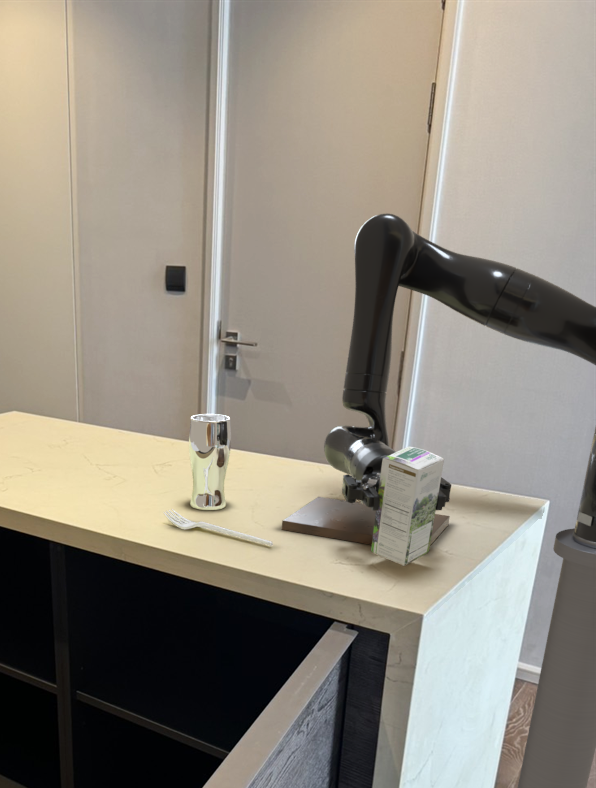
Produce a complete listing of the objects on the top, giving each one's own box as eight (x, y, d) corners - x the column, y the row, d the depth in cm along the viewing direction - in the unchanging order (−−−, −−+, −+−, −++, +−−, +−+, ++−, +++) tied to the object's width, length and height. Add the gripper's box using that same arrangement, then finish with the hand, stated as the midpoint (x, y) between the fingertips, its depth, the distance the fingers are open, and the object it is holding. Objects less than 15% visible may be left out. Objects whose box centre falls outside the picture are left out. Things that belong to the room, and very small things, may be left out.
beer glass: (206, 497, 152) (208, 412, 146) (236, 505, 148) (240, 417, 142) (179, 505, 148) (180, 417, 142) (209, 513, 143) (212, 423, 137)
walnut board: (448, 524, 138) (449, 515, 137) (423, 553, 125) (424, 543, 125) (317, 504, 148) (318, 496, 148) (281, 529, 135) (282, 520, 135)
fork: (265, 550, 126) (266, 538, 126) (161, 523, 138) (161, 512, 138) (277, 545, 129) (278, 533, 128) (173, 519, 141) (173, 507, 140)
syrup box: (395, 539, 123) (406, 443, 115) (430, 553, 119) (445, 455, 112) (370, 552, 120) (380, 455, 112) (405, 568, 116) (418, 468, 109)
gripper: (334, 448, 129) (357, 476, 114) (430, 447, 128) (466, 475, 113) (330, 496, 131) (352, 530, 117) (424, 496, 131) (458, 530, 116)
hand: (408, 503), depth 115 cm, fingers closed on syrup box, 8 cm apart
